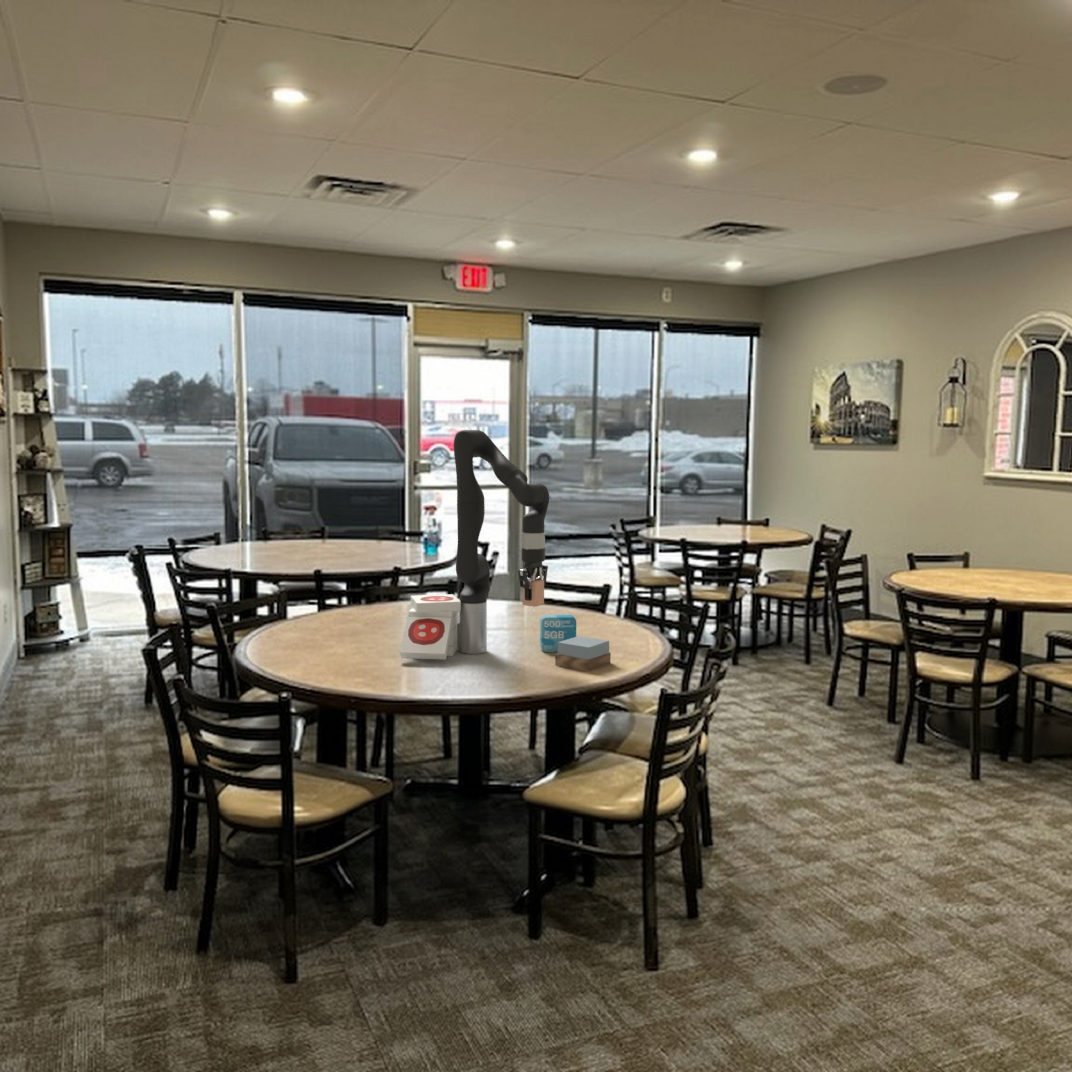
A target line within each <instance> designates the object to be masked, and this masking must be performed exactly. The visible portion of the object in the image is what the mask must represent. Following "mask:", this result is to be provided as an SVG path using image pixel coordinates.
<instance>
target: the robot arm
mask: <svg viewBox="0 0 1072 1072" xmlns="http://www.w3.org/2000/svg"><path fill="white" fill-rule="evenodd" d="M453 455H454V463H455V465H454V466H455V474H456V515H457V517H456V518H457V548H456V549H457V550H456V559H455V560H456V561H455V572H456V576H457V578H458V580H460V581H461V583H464V585H463V588H462V590H461V592H460V593H459V600H460V601H461V611H460V623H458V624H457V650H456V652H457V651H459V652H460V653H462V654H469V655H470V654H471V655H475V654H476V655H477V654H483V653H486V652H487V651H488V649H487V646H488V645H487V642H488V641H487V640H488V638H487V636H488V632H487V631H488V629H487V628H488V627H487V624H488V621H487V619H488V618H487V617H488V616H487V613H488V612H487V608H488V607H487V605H488V604H487V601H488V600H487V599H488V594H489V592H490V575H491V574H490V573H491V572H490V571H491V570H490V564H489V561H488V560H487V558H486V557H485V556H484V555H482V554H480V553H479V550H478V549H479V548H478V547H479V538H480V534H481V531H482V527H483V525H484V522H485V521H484V520H485V511H486V509H485V507H486V506H485V496H484V495H485V494H484V492H483V490H482V488H481V486H480V484H479V482H478V480H477V478H476V475H475V472H474V458H480V459H482V460H484V461H485V462H487V463H488V464H489V465H490V466H491V468H492V470H493V473H494V475H495V477H496V478H497V480H498V481H499V482H500V483H502V484H503V485H504V486H505V487H506V488H507V489H509V491H511V494H512V495H513V496H514V498H515V500H516V501H517V502H518V503H519V504H520V505H522V506H523V507H530V510H529V512H527V513H526V514H523V516H522V529H521V530H522V534H521V562H523V563H524V566H523V568H522V569H520V568H519V569H518V571H517V572H518V580H519V586H520V588H522V589H523V588H524V589H525V600H528V601H530V600H532V589H531V588H532V582H534V580H535V579H537V580H544V585H545V584H546V583H547V577H548V570H549V567H548V565H546V564H543V562H545V560H546V536H545V518H546V516H547V511H548V507H549V502H550V492H549V489H548V488H547V486H546V485H544V484H542V483H528V480H529V479H528V477H527V475H526V473H525V472H524V471H522V470H521V469H520V468H519V467H517V466H516V465H515V464H514V463H513V462H512V461H510V460H509V459H508V457H506V456H505V455H504V454H503V452H502V451H501V450H500V449H499V448H498V446H497V445H496V444H495V443H494V442H493V441H492V439H491V438H490V437H489V436H488V434H487V433H485V432H484V431H483V430H479V429H461V430H458V432H457V433H456V434H455V436H454V438H453ZM523 581H524V584H523ZM528 581H529V585H528Z"/></svg>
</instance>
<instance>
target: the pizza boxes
mask: <svg viewBox="0 0 1072 1072" xmlns="http://www.w3.org/2000/svg"><path fill="white" fill-rule="evenodd" d="M410 606H411V607H412V608H411V609H409V610H408V612H407V613H408V614H407V615H408V616H406V621H405V625H404V629H403V634H402V639H401V640H402V641H401V644H400V649H399V655H400V659H412V660H413V659H414V660H415V659H418V660H447V657H452V656H454V654H455V653H456V652H457V624H458V623H460V611H461V601H460V598H458V597H456V596H455V595H454V594H453V593H451V594H446V593H445V594H425V595H423V594H421V595H417V594H416V595H410Z"/></svg>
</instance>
